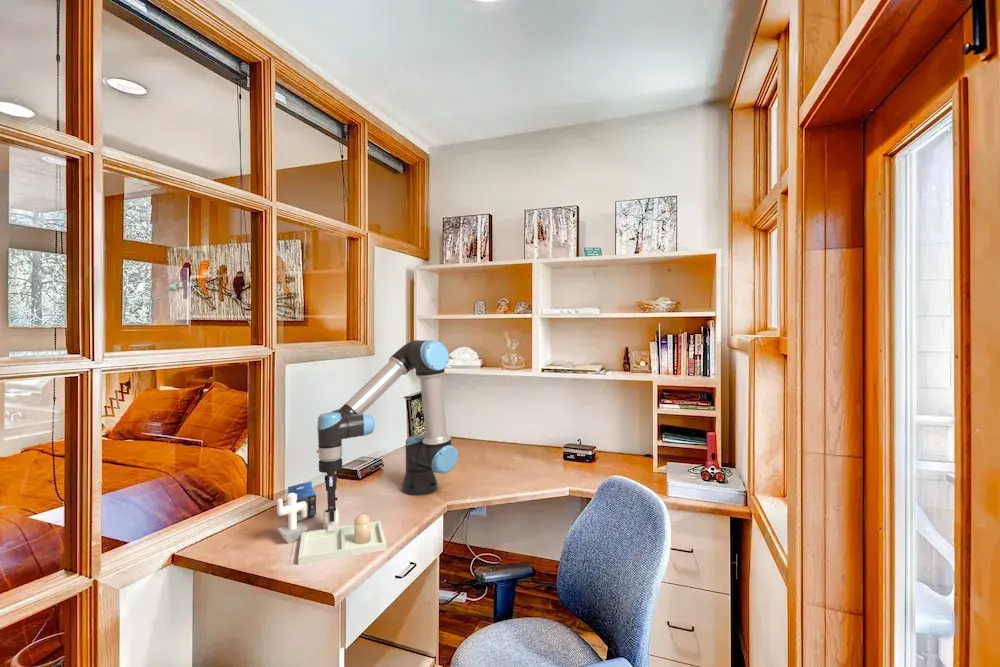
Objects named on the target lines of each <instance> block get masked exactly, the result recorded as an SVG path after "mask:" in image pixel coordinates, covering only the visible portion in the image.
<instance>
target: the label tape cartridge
mask: <svg viewBox="0 0 1000 667" xmlns="http://www.w3.org/2000/svg"><path fill="white" fill-rule="evenodd" d="M300 487H301V488H300ZM298 488H299V489H298ZM287 491H288V492H287V495H288V494H289V493H296V494H297V503H298V502H302V501H305V502H306V503H307V517H305V518H303V517H302V512H301V511H297V522H301V521H305V520H309V519H312V518H315V517H317V494H316V492H315V491H314V489H313V484H312V481H307V482H304V483H298V484H295V485H292V486H291V485H290V486H288V487H287Z"/></svg>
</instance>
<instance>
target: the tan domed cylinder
mask: <svg viewBox="0 0 1000 667" xmlns="http://www.w3.org/2000/svg"><path fill="white" fill-rule="evenodd" d="M370 522H371V518H370V516H369V515H368V514H366V513H360V514H359V515H357V516H356V517H355V519H354V523H353V525H354V538H355V543H356V544H366V543H368V542H370V540H371V525H370Z"/></svg>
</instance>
